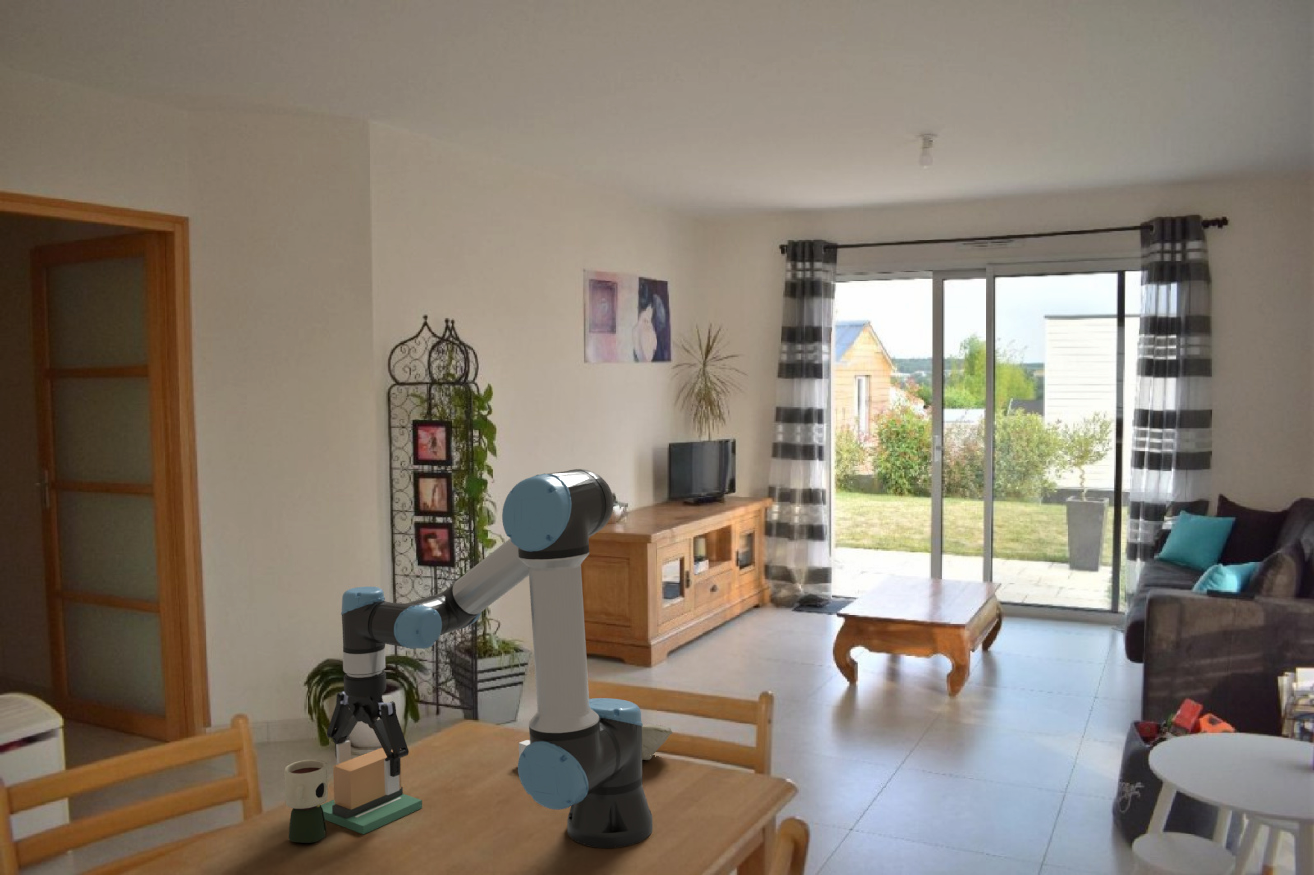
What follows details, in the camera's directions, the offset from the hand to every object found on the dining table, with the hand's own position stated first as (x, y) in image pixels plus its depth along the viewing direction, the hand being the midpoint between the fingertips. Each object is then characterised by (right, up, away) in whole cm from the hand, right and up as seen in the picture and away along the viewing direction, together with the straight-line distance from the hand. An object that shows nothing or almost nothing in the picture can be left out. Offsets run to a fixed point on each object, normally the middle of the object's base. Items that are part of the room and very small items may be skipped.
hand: (367, 784), depth 192 cm
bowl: (+50, -4, +25) cm, 56 cm away
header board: (0, -5, 0) cm, 5 cm away
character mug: (-7, -6, -11) cm, 15 cm away
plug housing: (+1, -2, +1) cm, 3 cm away
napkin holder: (+30, -5, +19) cm, 35 cm away
